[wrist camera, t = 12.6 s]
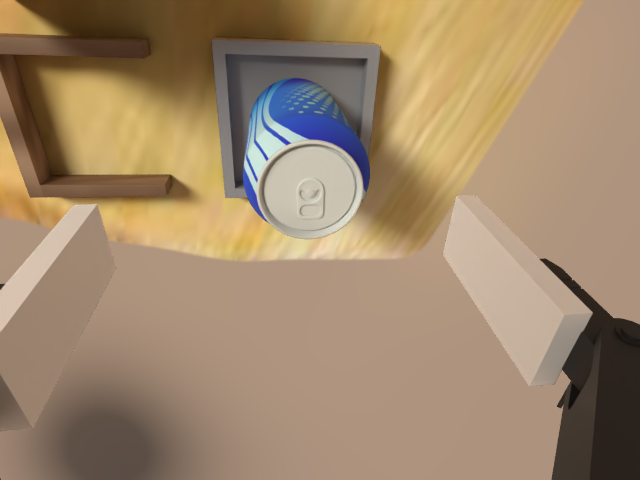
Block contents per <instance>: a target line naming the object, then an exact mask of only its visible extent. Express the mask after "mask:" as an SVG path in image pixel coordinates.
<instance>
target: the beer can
mask: <svg viewBox="0 0 640 480" xmlns="http://www.w3.org/2000/svg"><path fill="white" fill-rule="evenodd" d="M369 179H370V166H369V160H368V156H367V153H366V151H365V148H364V146H363V144H362V142H361V141H360V139H359V138H358V136H357V135H356V133H355V131H354V130H353V128H352V127H351V125H350V124H349V122H348V121H347V119H346V117H345V116H344V114H343V113H342V111H341V110H340V108H339V106H338V105H337V103H336V102H335V100H334V99H333V97H332V96H331V95H330V94H329V92H328V91H327V90H326V89H324V88H323V87H322V86H320V85H319V84H317V83H315V82H313V81H310V80H307V79H301V78H289V79H284V80H281V81H278V82H276V83H274V84H272V85H270V86H269V87H267V88H266V89H265V90H264V91H263V92H262V93H261V94H260V95H259V97H258V98H257V100H256V101H255V103H254V105H253V108H252V111H251V115H250V121H249V128H248V136H247V144H246V151H245V159H244V166H243V183H244V188H245V192H246V195H247V198H248V200H249V202H250V204H251V205H252V207H253V208H254V210H255V211H256V212H257V213H258V214H259V215H260V216H261V217H262V218H263V219H264V220H265V221H266V222H268V223H269V224H271V225H272V226H273V227H274V228H275V229H277V230H278V231H280V232H281V233H283V234H286V235H288V236H291V237H294V238H299V239H317V238H322V237H325V236H328V235H331V234H333V233H335V232H337V231H339V230H340V229H342V228H343V227H344V226H345V225H347V224H348V223H349V222H350V220H351V219H352V218H353V217H354V215H355V214H356V212H357V211H358V209H359V207H360V204H361V202H362V201H363V199H364V197H365V194H366V191H367V189H368V185H369Z"/></svg>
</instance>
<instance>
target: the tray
mask: <svg viewBox="0 0 640 480" xmlns="http://www.w3.org/2000/svg"><path fill="white" fill-rule="evenodd" d="M211 41H212V52H213V64H214V75H215V86H216V98H217V109H218V120H219V132H220V143H221V155H222V166H223V177H224V189H225V198H247V195H246V192H245V188H244V183H243V166H244V159H245V151H246V144H247V136H248V128H249V121H250V115H251V111H252V108H253V105H254V103H255V101H256V100H257V98H258V97H259V95H260V94H261V93H262V92H263V91H264V90H265V89H266V88H267V87H269V86H270V85H272V84H274V83H276V82H278V81H281V80H284V79H289V78H301V79H307V80H310V81H313V82H315V83H317V84H319V85H320V86H322V87H323V88H324V89H326V90H327V91H328V92H329V94H330V95H331V96H332V97H333V99H334V100H335V102H336V103H337V105H338V106H339V108H340V110H341V111H342V113H343V114H344V116H345V117H346V119H347V121H348V122H349V124H350V125H351V127H352V128H353V130H354V131H355V133H356V135H357V136H358V138H359V139H360V141H361V142H362V144H363V146H364V148H365V151H366V153H367V156H368V158H369V149H370V140H371V131H372V122H373V113H374V104H375V95H376V86H377V76H378V67H379V58H380V49H381V46H380V45H377V44H375V43H356V42H329V41H302V40H275V39H248V38H221V37H214V38H213V39H212V40H211Z"/></svg>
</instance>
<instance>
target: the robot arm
mask: <svg viewBox="0 0 640 480" xmlns="http://www.w3.org/2000/svg"><path fill="white" fill-rule="evenodd" d="M443 256H444V257H445V259H446V260H447V262H448V263H449V265H450V266H451V268H452V269H453V271H454V272H455V274H456V275H457V277H458V278H459V280H460V281H461V283H462V284H463V286H464V288H465V289H466V290H467V292H468V293H469V295H470V296H471V298H472V300H473V301H474V303H475V304H476V306H477V307H478V309H479V310H480V312H481V313H482V315H483V317H484V318H485V319H486V321H487V323H488V324H489V326H490V327H491V329H492V330H493V332H494V333H495V335H496V336H497V338H498V339H499V341H500V342H501V344H502V345H503V347H504V348H505V350H506V351H507V353H508V354H509V356H510V358H511V359H512V361H513V362H514V364H515V365H516V367H517V368H518V370H519V371H520V373H521V374H522V376H523V377H524V379H525V380H526V382H527V383H528V385H529V386H530V387H531V386H543V385H554V384H555V383H556V381H557V379H558V377H559V375H560V373H561V371H562V370H563V371H564V372H565V374H566V375H567V376H568V378H569V379H570V380H571V382H570V384H569V385H568V387H567V389H566V391H565V393H564V394H563V396H562V398H561V400H560V401H559V403H558V405H557V407H559V408H561V407H562V406H563V404H564V406H563V413H562V419H561V425H560V431H559V437H558V444H557V449H556V456H555V462H554V468H553V474H552V480H640V325H639V324H637V323H635V322H632V321H629V320H625V319H621V318H613V317H612V316H610V314H609V313H608V312H607V311H605V310H604V309H603V308H602V307H601V306H600V305H599V304H598V303H597V302H596V301H595V300H594V299H593V298H592V297H591V296H590V295H589V294H588V293H587V292H586V291H585V290H584V289H581V287H580V286H579V285H578V284H577V283H576V282H575V281H574V280H572V278H571V277H570V276H569V275H568V274H567V273H566V272H565V271H564V270H563V269H562V268H560V267H559V266H557V265H555V264H554V263H552V262H550V261H549V260H547V259H539V258H538V257H536V255H535V254H534V253H533V252H532V251H531V250H529V248H528V247H527V246H526V245H525V244H524V243H523V242H522V241H521V240H520V239H519V238H518V237H517V236H516V235H515V234H514V233H513V232H512V231H511V230H510V229H509V228H508V227H507V226H506V225H505V224H504V223H503V222H502V221H501V220H500V219H499V218H498V217H497V216H496V215H495V214H494V213H493V212H492V211H491V210H490V209H489V208H488V207H487V206H486V205H485V204H484V203H483V202H482V201H481V200H480V199H479V198H478V197H477V196H476V195H457V196H456V200H455V204H454V208H453V213H452V217H451V221H450V226H449V229H448V234H447V238H446V242H445V246H444V250H443ZM115 270H116V265H115V262H114V259H113V255H112V252H111V248H110V245H109V242H108V239H107V235H106V232H105V229H104V225H103V222H102V219H101V215H100V212H99V209H98V205H97V204H84V205H73V206H72V207H71V209H70V210H69V211H68V212H67V213H66V214H65V216H64V217H63V218H62V219H61V220H60V221H59V222H58V224H57V225H56V226H55V227H54V228H53V229H52V231H51V232H50V233H49V234H48V235H47V237H46V238H45V239H44V240H43V241H42V242H41V243H40V245H39V246H38V247H37V248H36V249H35V250H34V252H33V253H32V254H31V255H30V256H29V257H28V259H27V260H26V261H25V262H24V263H23V264H22V266H21V267H20V268H19V269H18V270H17V272H16V273H15V274H14V275H13V276H12V277H11V278H10V280H9V281H8V282H7V283H6V284H0V431H7V430H20V429H31V428H33V427H34V426H35V424H36V422H37V420H38V418H39V416H40V414H41V412H42V410H43V408H44V406H45V404H46V402H47V400H48V399H49V397H50V394H51V393H52V391H53V389H54V387H55V385H56V383H57V381H58V379H59V377H60V375H61V373H62V372H63V370H64V368H65V366H66V364H67V362H68V360H69V358H70V356H71V354H72V352H73V350H74V349H75V347H76V345H77V343H78V341H79V339H80V337H81V335H82V333H83V331H84V329H85V327H86V325H87V323H88V322H89V319H90V318H91V316H92V314H93V312H94V310H95V308H96V306H97V304H98V302H99V300H100V298H101V297H102V295H103V293H104V291H105V289H106V287H107V285H108V283H109V281H110V279H111V277H112V275H113V273H114V272H115ZM0 480H1V479H0Z"/></svg>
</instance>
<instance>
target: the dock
mask: <svg viewBox="0 0 640 480" xmlns="http://www.w3.org/2000/svg"><path fill="white" fill-rule="evenodd" d="M13 54H19V55H53V56H86V57H119V58H145V57H147V56H149V55H150V54H151V53H150V47H149V40H148V39H140V38H112V37H84V36H56V35H28V34H0V116H1V119H2V122H3V125H4V127H5V130H6V133H7V136H8V138H9V141H10V144H11V147H12V149H13V152H14V155H15V157H16V160H17V163H18V166H19V168H20V171H21V174H22V177H23V179H24V182H25V185H26V188H27V190H28V193H29V196H30V197H135V196H167V195H168V193H169V191H170V189H171V187H172V183H171V177H170V175H52V173H51V169H50V166H49V163H48V160H47V157H46V154H45V151H44V148H43V145H42V142H41V139H40V135H39V132H38V129H37V126H36V123H35V120H34V117H33V114H32V111H31V108H30V105H29V101H28V98H27V95H26V92H25V89H24V86H23V83H22V80H21V77H20V74H19V71H18V67H17V64H16V61H15V58H14V55H13Z"/></svg>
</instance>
